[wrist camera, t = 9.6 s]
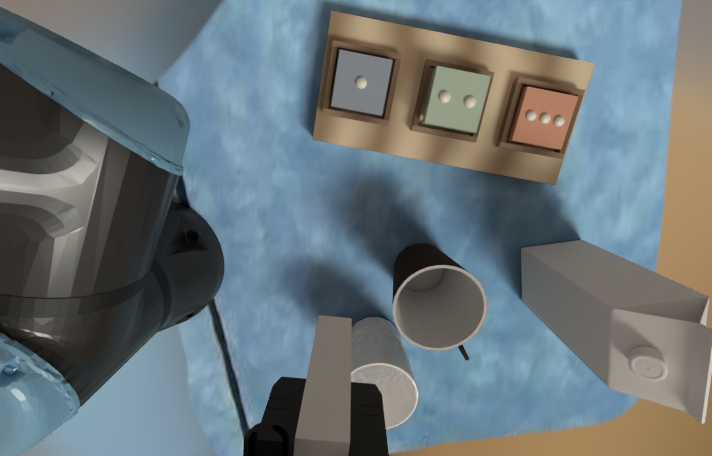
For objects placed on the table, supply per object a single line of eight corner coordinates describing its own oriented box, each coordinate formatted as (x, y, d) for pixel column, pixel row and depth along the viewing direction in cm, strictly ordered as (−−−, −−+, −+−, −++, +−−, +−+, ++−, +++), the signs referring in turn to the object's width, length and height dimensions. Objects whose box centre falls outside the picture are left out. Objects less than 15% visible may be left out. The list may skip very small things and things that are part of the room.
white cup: (387, 301, 42) (395, 350, 32) (415, 350, 44) (431, 411, 34) (331, 328, 43) (323, 383, 33) (361, 375, 45) (361, 441, 35)
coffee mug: (382, 236, 40) (390, 267, 30) (457, 232, 40) (488, 262, 30) (386, 325, 43) (394, 379, 33) (455, 321, 42) (484, 375, 33)
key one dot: (332, 107, 34) (330, 105, 33) (340, 53, 33) (339, 49, 31) (381, 116, 34) (382, 115, 33) (391, 63, 33) (392, 59, 31)
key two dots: (421, 123, 33) (425, 122, 32) (433, 69, 32) (437, 65, 31) (471, 132, 34) (476, 132, 32) (485, 79, 32) (491, 76, 31)
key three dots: (505, 140, 35) (513, 140, 33) (520, 88, 34) (528, 86, 32) (552, 149, 35) (562, 149, 33) (568, 98, 34) (579, 96, 32)
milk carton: (581, 238, 40) (774, 325, 21) (580, 294, 41) (757, 418, 23) (519, 246, 40) (657, 339, 22) (521, 301, 42) (649, 429, 23)
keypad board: (315, 139, 37) (311, 139, 34) (332, 17, 34) (330, 6, 31) (545, 182, 38) (560, 186, 35) (582, 67, 35) (602, 61, 32)
